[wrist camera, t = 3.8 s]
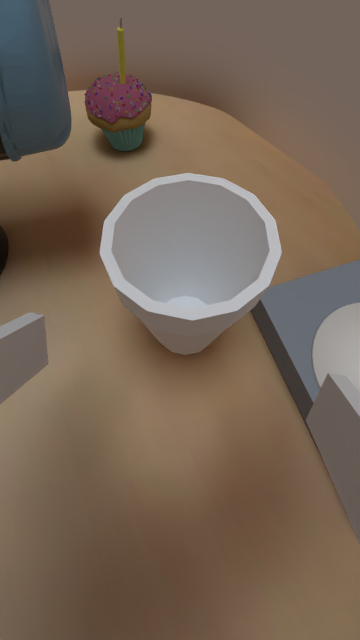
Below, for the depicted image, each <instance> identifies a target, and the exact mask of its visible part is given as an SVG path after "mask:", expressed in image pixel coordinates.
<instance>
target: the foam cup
mask: <svg viewBox="0 0 360 640" xmlns="http://www.w3.org/2000/svg"><path fill="white" fill-rule="evenodd" d="M281 253H282V251H281V246H280V241H279V236H278V231H277V225H276V220H275V219H274V218H273V217H272V216H271V214H270V213H269V212H268V211H267V209H266V208H265V207H264V206H263V205H262V203H261V202H260V201H259V200H258V198H257V197H256V196H255V195H254V194H252V193H250V192H248V191H247V190H245V189H243V188H241V187H239V186H237V185H235V184H233V183H231V182H230V181H228V180H226V179H224V178H218V177H212V176H205V175H199V174H192V173H185V174H179V175H173V176H167V177H161V178H155V179H152V180H150V181H149V182H147V183H145V184H143V185H141V186H140V187H138V188H136V189H134V190H132V191H131V192H129V193H127V194H125V195H124V196H123V197H122V198H121V200H120V201H119V202H118V204H117V205H116V206H115V208H114V209H113V210H112V211H111V213H110V214H109V215H108V217H107V218H106V219H105V221H104V225H103V232H102V239H101V246H100V252H99V254H100V256H101V258H102V260H103V263H104V265H105V267H106V270H107V272H108V274H109V276H110V279H111V281H112V283H113V286H114V288H115V290H116V292H117V294H118V296H119V298H120V299H121V301H122V303H123V305H124V307H125V308H126V309H128V310H129V311H130V312H132V313H133V314H134V315H135V316H137V317H138V318H139V319H140V320H141V322H142V323H143V324H144V325H145V326H146V327H147V329H148V330H149V331H150V332H151V333H152V334H153V336H154V337H155V338H156V339H157V340H158V341H159V342H160V343H161V344H162V345H163V346H164V347H166V348H167V349H168V350H170V351H171V352H173V353H178V354H182V355H189V354H193V353H198V352H200V351H202V350H203V349H204V348H205V347H207V346H208V345H209V344H210V343H212V342H213V341H214V340H215V339H216V338H217V337H218V336H219V335H220V334H221V333H222V332H223V331H224V330H225V329H227V328H229V327H230V326H231V325H233V324H234V323H235V322H236V321H237V320H239V319H240V318H241V317H242V316H244V315H245V314H246V313H247V312H249V311H250V310H251V309H252V308H254V307H255V306H256V304H257V303H258V301H259V300H260V298H261V297H262V295H263V294H264V292H265V291H266V289H267V288H268V286H269V284H270V282H271V279H272V277H273V274H274V272H275V269H276V266H277V264H278V261H279V259H280V256H281Z"/></svg>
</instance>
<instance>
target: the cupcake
mask: <svg viewBox="0 0 360 640" xmlns="http://www.w3.org/2000/svg"><path fill="white" fill-rule="evenodd" d="M117 34H118V50H119V51H118V52H119V68H120V72H119V73H120V74H119V73H118V74H114V75H108V76H106V75H105V76H103V77H102V76H101V77H102V78H101V77H100V78H97V80H95V81H94V82H93V84H92V85H91V86H90V87H89V88H88V90H87V91H86V94H85V95H86V97H85V105H86V111H87V116H88V119H89V120H90V122H91V123H92V124H94V125H95V126H97V127H99V128H101V129H102V130H103V132H104V133H105V135H106V137H107V139H108V140H109V142H110V144H111V146H112V147H113V148H115V149H117V150H120V151H130V150H134V149H136V148H137V147H139V146H140V145H141V143H142V140H143V132H144V126H145V122H146V121H147V120H148V119H149V118H150V115H151V101H152V95H151V94H150V93H149V91H148V90H147V89H146V88H145V87H144V85H143V84H142V83H141V82H139V81H138V79H137V80H136V79H135V77H132V76H129V75H127V74H126V73H125V52H124V30H123V28H122V17H120V27H118V28H117Z"/></svg>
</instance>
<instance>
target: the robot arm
mask: <svg viewBox="0 0 360 640" xmlns="http://www.w3.org/2000/svg"><path fill="white" fill-rule="evenodd" d="M70 132H71V110H70V103H69V97H68V91H67V85H66V80H65V75H64V70H63V64H62V59H61V54H60V49H59V45H58V40H57V35H56V30H55V25H54V21H53V16H52V11H51V7H50V2H49V0H0V161H1V160H7V159H11V160H12V161H18V160H20V159H21V157H22V156H26V155H30V154H35V153H39V152H44V151H48V150H53V149H57V148H59V147H61V146H62V145H63V144H64V143H65V142H66V141H67V139H68V137H69V135H70ZM7 253H8V241H7V237H6V234H5V232H4V230H3V229H2V227H1V226H0V273H1V271H2V269H3V267H4V265H5V262H6V258H7ZM46 365H48V355H47V342H46V330H45V318H44V315H40V314H35V313H30V312H29V313H27V314H25V315H23V316H21V317H18V318H16V319H14V320H12V321H10V322H8V323H6V324H4V325H2V326H0V404H1V403H2V402H3V401H5V400H6V399H7V398H8V397H9V396H11V395H12V394H13V393H14V392H15V391H17V390H18V389H19V388H20V387H21V386H22V385H24V384H25V383H26V382H27V381H28V380H30V379H31V378H32V377H33V376H34V375H36V374H37V373H38V372H39V371H40V370H42V369H43V368H44V367H45V366H46ZM306 422H307V424H308V427H309V429H310V431H311V433H312V436H313V438H314V440H315V443H316V445H317V447H318V449H319V452H320V454H321V456H322V459H323V461H324V463H325V465H326V468H327V470H328V472H329V475H330V477H331V479H332V481H333V484H334V486H335V488H336V491H337V493H338V495H339V497H340V500H341V502H342V504H343V506H344V509H345V511H346V513H347V516H348V518H349V520H350V522H351V525H352V527H353V529H354V532H355V534H356V536H357V538H358V541H359V543H360V392H359V391H358V390H357V389H356V388H355V386H354V385H353V384H352V383H351V382H350V380H349V379H348V378H347V377H346V376H342V375H337V374H332V373H328V374H327V376H326V378H325V380H324V382H323V384H322V387H321V389H320V391H319V393H318V395H317V397H316V399H315V401H314V404H313V406H312V408H311V410H310V412H309V414H308V416H307V418H306Z"/></svg>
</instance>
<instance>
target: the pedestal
mask: <svg viewBox="0 0 360 640" xmlns="http://www.w3.org/2000/svg"><path fill="white" fill-rule="evenodd" d="M251 312H252V314H253V316H254V318H255V320H256V322H257V324H258V326H259V329H260V331H261V333H262V335H263V337H264V339H265V341H266V343H267V345H268V347H269V349H270V351H271V353H272V355H273V357H274V359H275V362H276V364H277V366H278V368H279V370H280V372H281V374H282V376H283V378H284V380H285V382H286V384H287V386H288V388H289V390H290V392H291V395H292V397H293V399H294V401H295V403H296V405H297V407H298V409H299V411H300V413H301V415H302V417H303V419H304V421H305V423H306V426H307V428H308V430H309V432H310V434H311V436H312V433H311V431H310V429H309V427H308V424H307V422H306V418H307V416H308V414H309V412H310V410H311V408H312V406H313V404H314V401H315V399H316V397H317V395H318V393H319V391H320V389H321V387H322V384H323V382H324V380H325V378H326V376H327V374H328V373H332V374H337V375H342V376H346V377H347V378H348V379H349V380H350V382H351V383H352V384H353V385H354V386H355V388H356V389H357V390H358V391H359V392H360V260H357V261H354V262H351V263H347V264H344V265H341V266H338V267H334V268H331V269H328V270H324V271H321V272H318V273H315V274H311V275H308V276H305V277H302V278H298V279H295V280H292V281H288V282H285V283H282V284H279V285H275V286H272V287H269V288H267V289H266V291H265V292H264V294H263V295H262V297H261V298H260V300H259V301H258V303H257V304H256V306H255V307H254V308H252V309H251ZM312 438H313V436H312ZM313 440H314V438H313ZM314 442H315V440H314ZM315 444H316V443H315ZM316 446H317V445H316ZM317 448H318V447H317ZM318 450H319V449H318Z"/></svg>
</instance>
